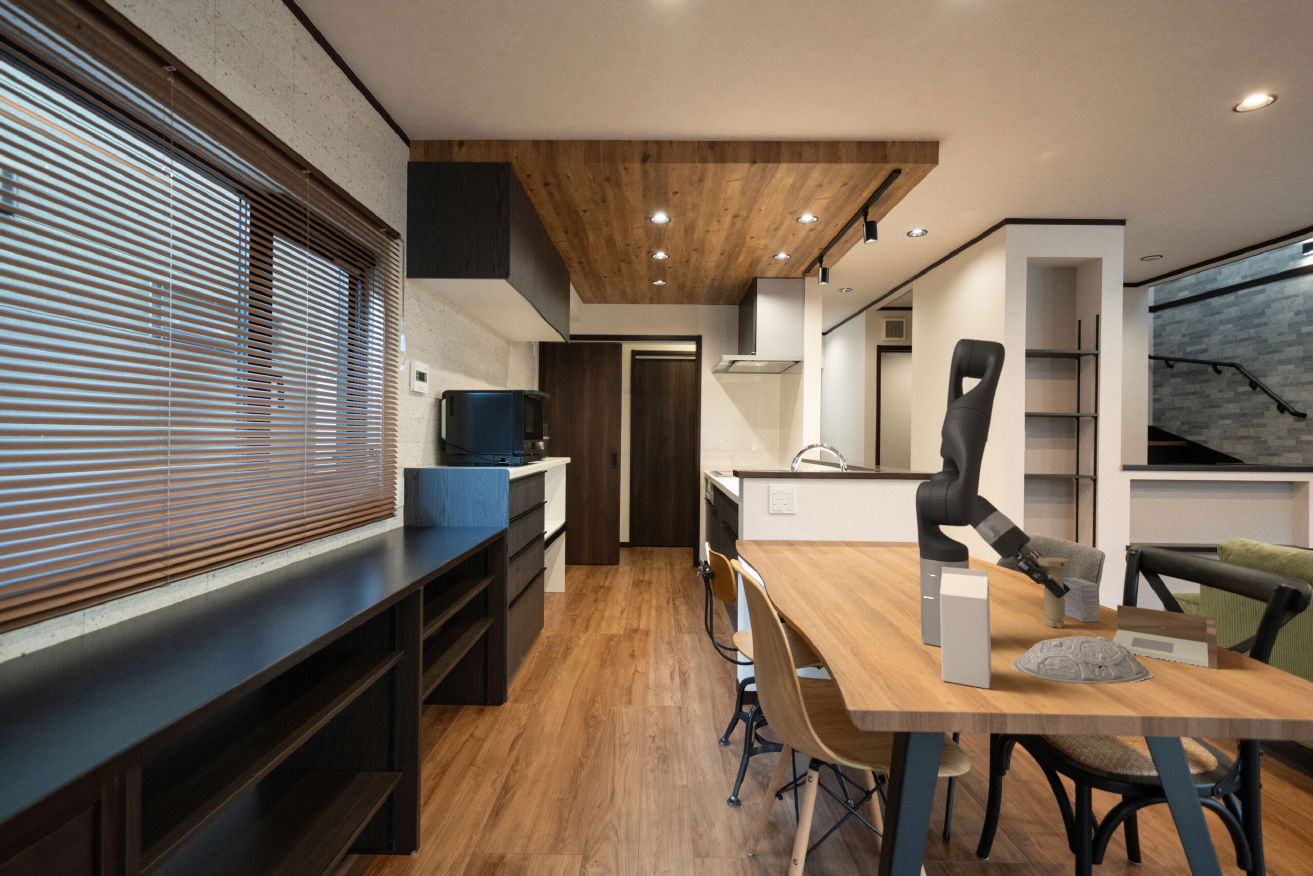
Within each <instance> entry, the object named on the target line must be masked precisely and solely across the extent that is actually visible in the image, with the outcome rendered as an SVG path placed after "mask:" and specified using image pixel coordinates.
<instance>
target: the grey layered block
mask: <svg viewBox="0 0 1313 876" xmlns="http://www.w3.org/2000/svg"><path fill="white" fill-rule="evenodd" d="M1063 582H1064V583H1065V584H1066V585H1067V586H1068V587H1069V588H1070V591H1069V592H1067V593H1066V594H1065V595H1064V597H1065V616H1067V617H1069V618H1072V619H1074V620H1077V621H1079V622H1082V623H1100V622H1101V608H1100V607H1101V605H1100V590H1099V589H1100V587H1099V584H1098V583H1094V582H1092V581H1091V582H1090V581H1088V580H1084V579H1080V578H1078V577H1063Z"/></svg>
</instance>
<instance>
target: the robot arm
mask: <svg viewBox="0 0 1313 876" xmlns="http://www.w3.org/2000/svg"><path fill="white" fill-rule="evenodd" d="M1005 357H1006V348H1005V345H1003V343H1001V342H997V341H993V340H984V339H983V340H981V339H972V338H971V339H970V338H960V339H959V340H958V341H957V342H956V344H955V346H954V348H953V352H952V357H951V361H950V362H951V363H950V369H949V370H950V371H949V377H948V388H947V390H948V391H947V398H946V399H947V403H946V412H945V415H944V419H943V423H942V427H941V434H940V435H941V444H940V451H939V454H940V457H941V458H942V459H943V460H942V469H941V471H937V472H935V473H934V474H933V475H931V478H930V479H929V480H924V481H921V482H920V483H919V484H918V486H917V489H916V493H915V513H916V523H917V524H916V525H917V543H918V548H919V573H920V576H919V579H920V580H919V581H920V582H919V583H920V584H919V586H920V590H919V591H920V625H921V627H920V629H921V630H920V631H921V636H920V637H921V640H922V643H923V644H926V645H931V646H932V645H933V646H937V647H941V615H940V588H941V577H942V567H950V568H962V569H970V560H969V559H970V555H969V554H970V553H969V552H970V551H969V548H968V546H967V545H966V544H964V543H962V542H960V541H958V540H956V539H954V538H951V537H949V536H948V535H947V534H945V533H944V532H943V531H942V530H941V528H940V526H944V527H945V526H946V527H947V526H949V527H968V526H971V527H972V529H973V530H975V531H976V532H977V534H978V535H979V536H980V538H981V539H983V540H984V542H986V543H987V544H988V545H989V546H990V547H991V548H992V549H993V551H995V552H996V553H997V554H998V555H999V556H1000V557H1001V558H1002V559H1003V560H1009V559H1010V558H1011V557H1013V559H1014V560H1015V561H1016V563H1017V564H1016V565H1015V567H1016V568H1017V569H1018V570H1020V571H1021V572H1022V573H1023V574H1025V575H1026V576H1027V577H1028V578H1030V579H1031V580H1032V581H1034V582H1035V583H1036V584H1037V585H1041V586H1045V587H1046V588H1047V589H1048V590H1049V591H1050V592H1051V593H1053V594H1054V595H1055V596H1056V597H1057V598H1061V597H1063V596H1064V595H1065V594H1066V593H1067V592H1069V591H1070V588H1069V587H1068V586H1067V585H1066V584H1065V583H1064V582H1063V587H1064V589H1063V588H1062V587H1061V586H1060V585H1059V584H1058V583H1057V582H1056V581H1055V580H1052V577H1051V576H1050V575H1049V574H1048V573H1047V572H1046V571H1045V570H1046V569H1045V568H1044V567H1043V566H1041V565H1040V564H1039V562H1038V561H1037V558H1043V557H1044V556H1043V555H1042V553H1040V552H1039V551H1035V550H1032V549H1030V548H1029V547H1027V545H1028V544H1029V543H1030V542H1031V537H1030V536H1029V535H1028V534H1027V533H1025V531H1023V530H1022V529H1021V528H1020V527H1019V526H1017V524H1015V523H1014V522H1013V521H1012V520H1011V519H1010V518H1009V517H1008V516H1007V515H1005V514H1004V513H1003V512H1001V511H1000V510H999V509H998V508H997V507H996V506H994V505H993V503H991V502H990V501H989V500H988V499H987V498H985V497H984V496H982V495H980V494H979V488H980V487H979V485H980V477H981V476H980V475H981V469H982V463H983V457H984V454H985V449H986V445H987V441H988V436H989V432H990V431H989V430H990V427H991V421H992V416H993V415H992V413H993V408H994V407H993V406H994V400H995V396H996V392H997V389H998V384H999V382H1000V378H1001V374H1002V371H1003V369H1004V368H1003V367H1004V363H1005ZM964 378H969V379H978V380H980V381H979V382H978V383H977V384H976V385H975V386H974V387H972V388H971V389H970V390H969V391H967V392H965V393H964V389H963V388H964V386H963V383H964V382H963V381H964Z"/></svg>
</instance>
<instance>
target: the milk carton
mask: <svg viewBox="0 0 1313 876" xmlns="http://www.w3.org/2000/svg"><path fill="white" fill-rule="evenodd" d="M988 574H989V572H988V570H985V569H983V570H982V569H973V568H969V569H962V568H950V567H942V577H941V588H940V615H941V646H940V653H941V655H940V656H941V681H943V682H949V683H954V684H959V685H963V686H964V685H965V686H971V687H978V688H981V689H990V686H991V680H992V679H991V678H992V650H991V649H992V648H991V646H992V645H991V641H992V640H991V610H990V609H991V608H990V607H991V605H990V586H989V585H990V584H989V577H988V576H989V575H988Z"/></svg>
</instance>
